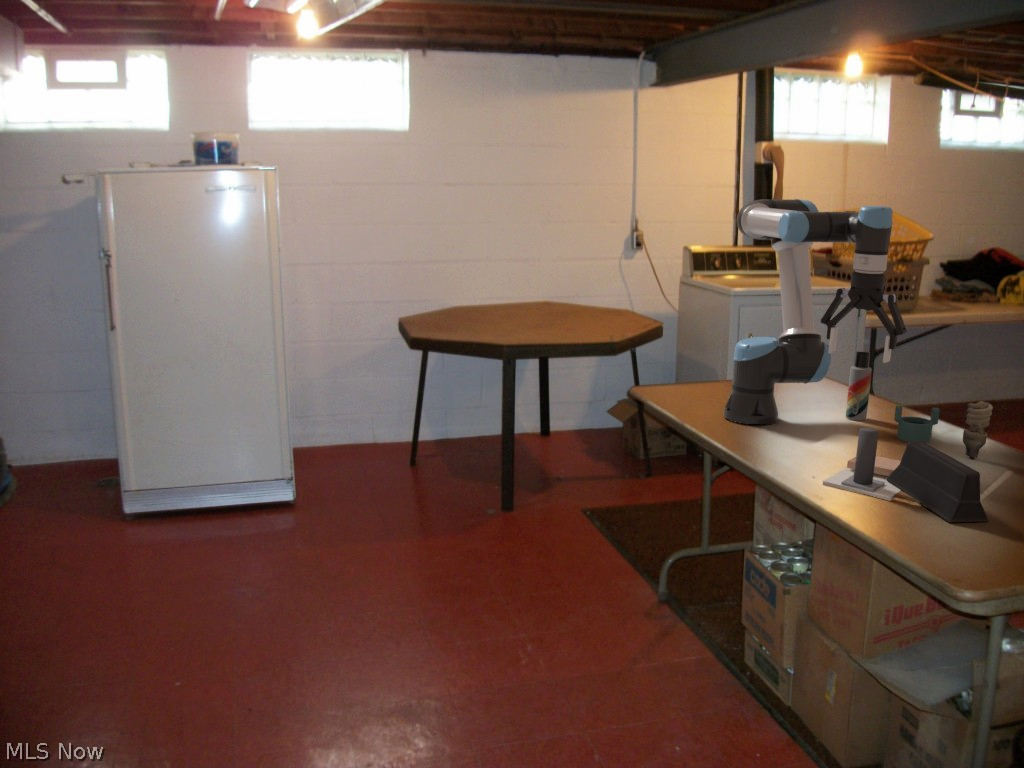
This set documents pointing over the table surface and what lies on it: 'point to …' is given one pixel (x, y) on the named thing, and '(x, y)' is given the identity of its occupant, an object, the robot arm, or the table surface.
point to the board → (876, 489)
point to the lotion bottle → (859, 387)
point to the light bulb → (976, 427)
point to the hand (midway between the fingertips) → (858, 357)
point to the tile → (879, 465)
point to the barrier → (939, 483)
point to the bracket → (915, 426)
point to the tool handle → (865, 456)
